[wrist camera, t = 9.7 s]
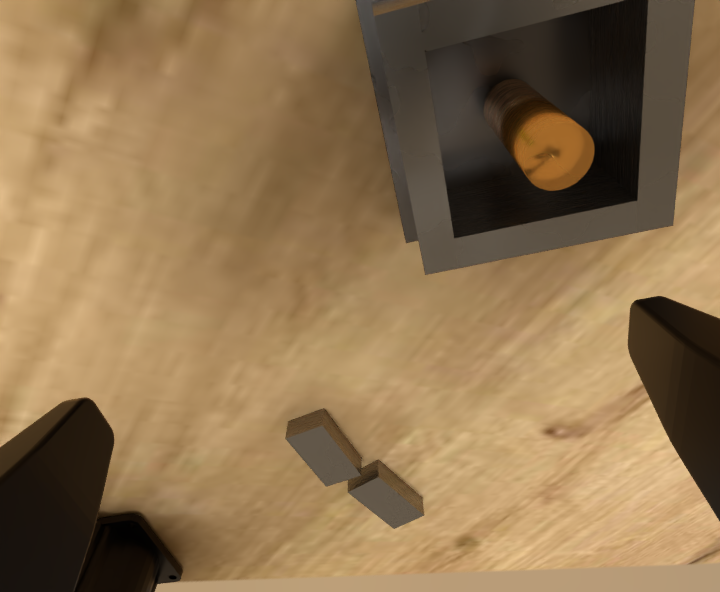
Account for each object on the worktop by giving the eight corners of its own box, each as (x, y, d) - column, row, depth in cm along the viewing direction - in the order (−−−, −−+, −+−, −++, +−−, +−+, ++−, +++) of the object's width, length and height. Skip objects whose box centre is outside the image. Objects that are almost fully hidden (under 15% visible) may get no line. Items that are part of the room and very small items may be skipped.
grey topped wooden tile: (361, 452, 27) (361, 475, 26) (327, 464, 28) (326, 486, 27) (324, 403, 25) (322, 425, 24) (288, 416, 26) (285, 438, 25)
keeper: (623, 185, 19) (718, 269, 14) (404, 230, 20) (418, 324, 15) (634, -82, 14) (778, -102, 9) (355, -6, 16) (350, 12, 10)
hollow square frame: (619, 179, 18) (672, 225, 15) (415, 222, 18) (425, 274, 15) (628, -67, 14) (702, -74, 11) (371, 3, 15) (373, 16, 12)
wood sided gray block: (421, 492, 29) (424, 515, 28) (392, 506, 30) (393, 528, 28) (378, 454, 27) (378, 476, 26) (348, 469, 28) (347, 492, 27)
